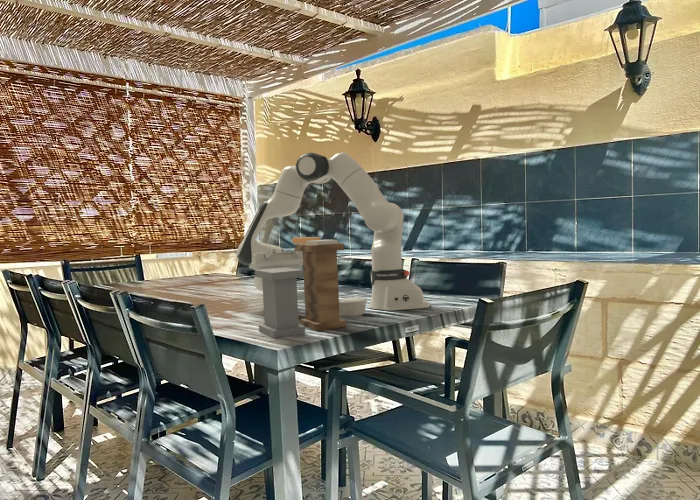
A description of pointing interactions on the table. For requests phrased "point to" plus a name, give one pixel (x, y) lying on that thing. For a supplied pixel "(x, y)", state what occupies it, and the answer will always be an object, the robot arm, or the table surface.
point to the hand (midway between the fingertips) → (285, 249)
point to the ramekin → (352, 306)
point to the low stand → (280, 302)
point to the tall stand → (321, 286)
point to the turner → (312, 241)
